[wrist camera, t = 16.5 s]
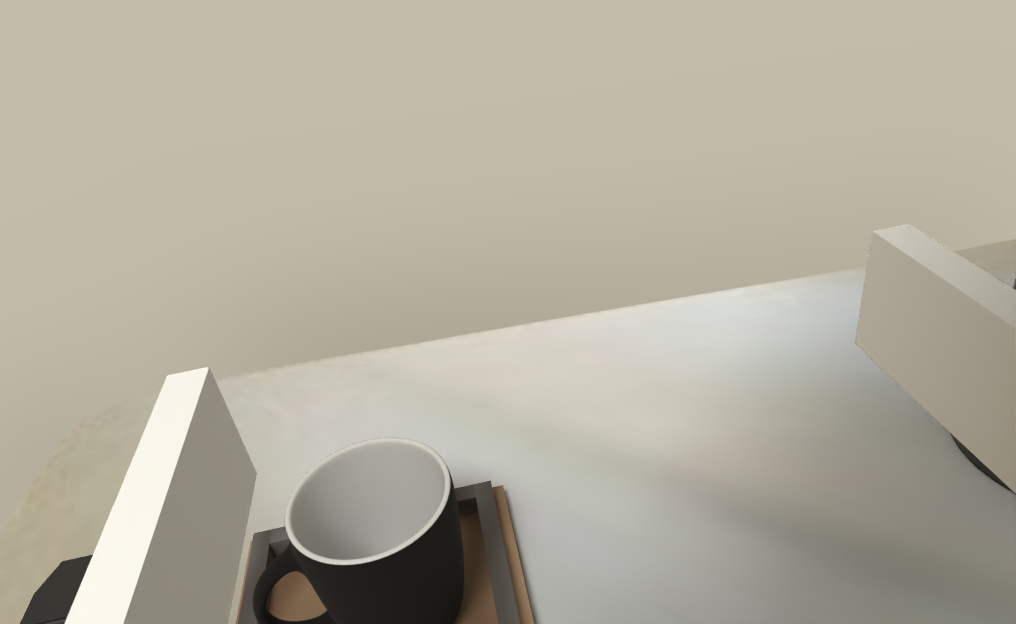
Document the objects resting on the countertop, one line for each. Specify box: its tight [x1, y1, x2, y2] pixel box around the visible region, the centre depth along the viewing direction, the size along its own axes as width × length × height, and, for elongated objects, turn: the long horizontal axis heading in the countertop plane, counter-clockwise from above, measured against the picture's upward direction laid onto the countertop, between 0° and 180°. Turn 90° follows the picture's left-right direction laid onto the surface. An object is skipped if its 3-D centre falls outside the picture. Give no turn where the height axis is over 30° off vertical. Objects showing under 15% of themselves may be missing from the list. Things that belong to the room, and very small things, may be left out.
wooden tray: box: [236, 481, 534, 624], centre depth 42 cm, size 18×18×3 cm
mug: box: [252, 437, 464, 624], centre depth 40 cm, size 12×9×10 cm
